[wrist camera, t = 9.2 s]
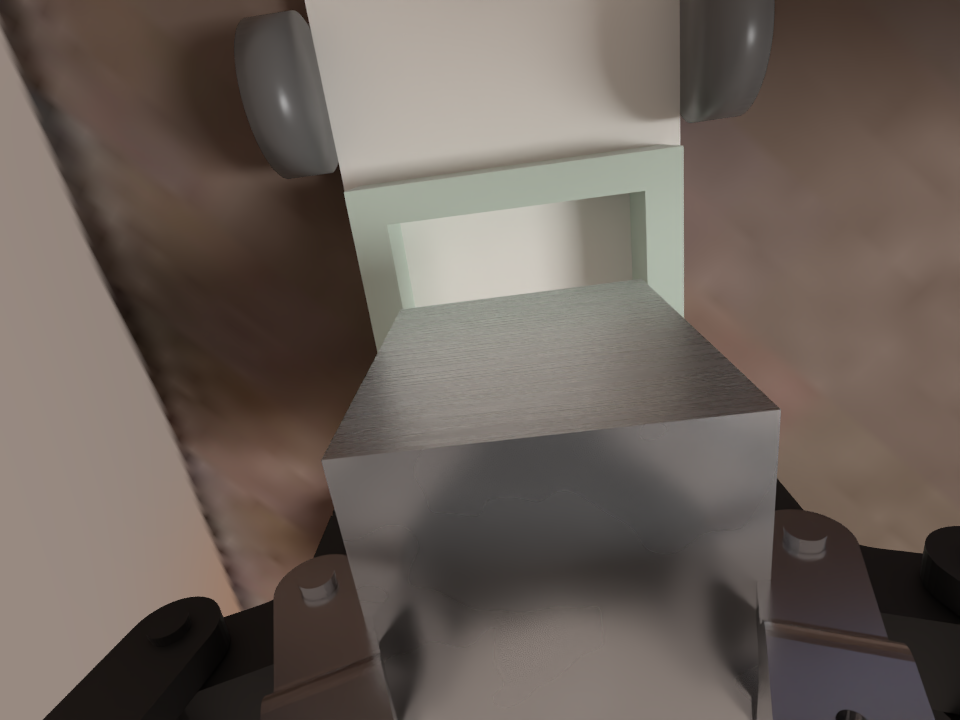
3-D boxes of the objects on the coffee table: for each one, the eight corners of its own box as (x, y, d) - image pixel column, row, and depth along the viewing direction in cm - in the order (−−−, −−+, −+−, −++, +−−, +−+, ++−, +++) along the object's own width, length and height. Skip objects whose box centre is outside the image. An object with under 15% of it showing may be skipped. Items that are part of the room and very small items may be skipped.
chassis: (713, -83, 15) (782, -150, 12) (704, 565, 23) (743, 647, 20) (270, -9, 16) (202, -50, 13) (406, 590, 24) (390, 673, 21)
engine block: (641, 278, 12) (781, 409, 6) (651, 555, 14) (755, 828, 9) (400, 309, 12) (321, 460, 6) (451, 573, 14) (426, 848, 9)
